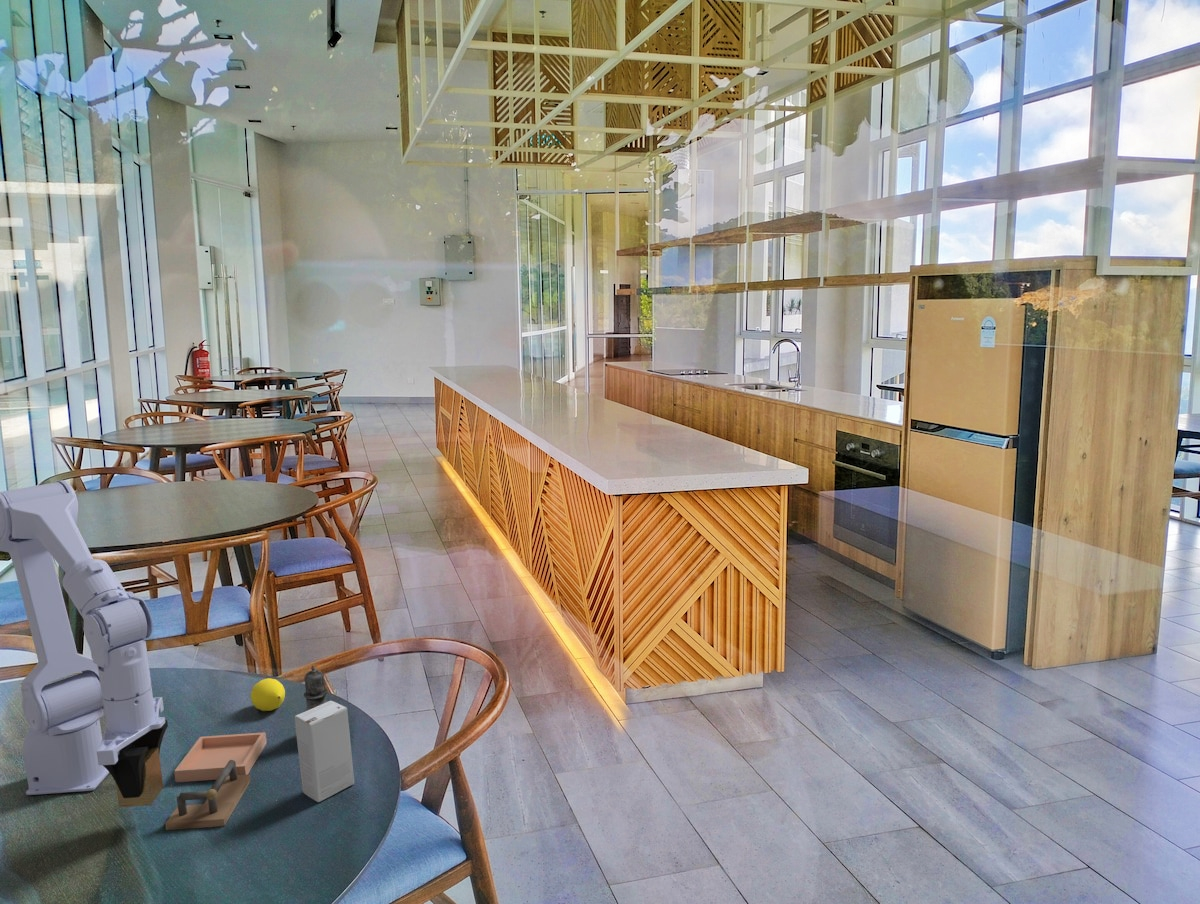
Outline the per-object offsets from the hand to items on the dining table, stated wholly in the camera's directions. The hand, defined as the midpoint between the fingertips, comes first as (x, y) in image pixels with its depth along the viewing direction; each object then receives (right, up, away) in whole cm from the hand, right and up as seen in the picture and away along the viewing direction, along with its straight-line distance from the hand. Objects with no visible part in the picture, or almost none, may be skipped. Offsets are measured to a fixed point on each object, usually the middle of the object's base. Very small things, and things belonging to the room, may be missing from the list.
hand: (140, 786), depth 115 cm
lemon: (+5, 0, +33) cm, 33 cm away
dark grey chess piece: (+17, -1, +23) cm, 28 cm away
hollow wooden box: (0, -2, 0) cm, 2 cm away
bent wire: (+7, -4, +5) cm, 10 cm away
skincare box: (+23, -4, +8) cm, 24 cm away
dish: (+4, -2, +16) cm, 17 cm away
